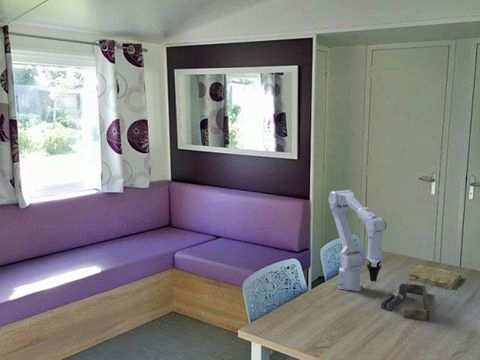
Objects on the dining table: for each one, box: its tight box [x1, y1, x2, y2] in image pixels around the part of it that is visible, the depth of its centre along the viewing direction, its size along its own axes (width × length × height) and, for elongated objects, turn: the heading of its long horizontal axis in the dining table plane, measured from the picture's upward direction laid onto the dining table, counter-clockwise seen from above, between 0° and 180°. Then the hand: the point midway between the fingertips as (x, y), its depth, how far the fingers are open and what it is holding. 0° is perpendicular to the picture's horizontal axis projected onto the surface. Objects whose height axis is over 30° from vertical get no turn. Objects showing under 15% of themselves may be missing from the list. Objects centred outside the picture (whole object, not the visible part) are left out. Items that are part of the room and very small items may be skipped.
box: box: [403, 282, 430, 321], centre depth 201 cm, size 9×28×4 cm, turn 163°
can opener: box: [380, 283, 409, 311], centre depth 203 cm, size 19×5×6 cm, turn 141°
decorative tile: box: [407, 264, 462, 290], centre depth 230 cm, size 19×20×4 cm
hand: (373, 277), depth 205 cm, fingers open, 7 cm apart
